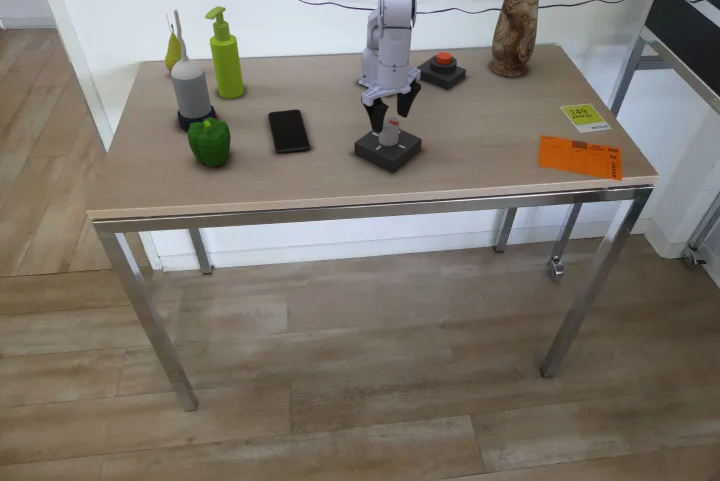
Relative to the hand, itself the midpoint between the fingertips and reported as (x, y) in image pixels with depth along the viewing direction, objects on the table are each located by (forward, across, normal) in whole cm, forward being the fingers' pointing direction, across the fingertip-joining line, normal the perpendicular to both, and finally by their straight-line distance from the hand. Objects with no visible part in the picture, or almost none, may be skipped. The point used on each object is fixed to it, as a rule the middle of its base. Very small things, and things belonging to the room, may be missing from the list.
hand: (389, 123), depth 113 cm
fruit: (+7, -13, +58) cm, 60 cm away
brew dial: (+4, 0, 0) cm, 4 cm away
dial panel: (+7, 0, 0) cm, 7 cm away
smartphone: (+7, -10, +20) cm, 24 cm away
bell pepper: (+7, -28, +23) cm, 37 cm away
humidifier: (+7, -22, +37) cm, 44 cm away
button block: (+7, +33, +12) cm, 36 cm away
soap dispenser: (+7, -9, +42) cm, 44 cm away
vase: (+7, +49, +3) cm, 49 cm away
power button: (+4, +34, +12) cm, 36 cm away
